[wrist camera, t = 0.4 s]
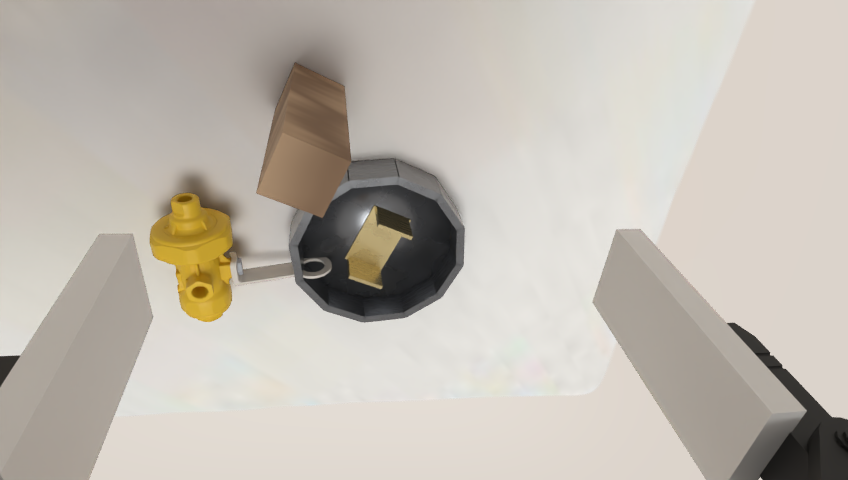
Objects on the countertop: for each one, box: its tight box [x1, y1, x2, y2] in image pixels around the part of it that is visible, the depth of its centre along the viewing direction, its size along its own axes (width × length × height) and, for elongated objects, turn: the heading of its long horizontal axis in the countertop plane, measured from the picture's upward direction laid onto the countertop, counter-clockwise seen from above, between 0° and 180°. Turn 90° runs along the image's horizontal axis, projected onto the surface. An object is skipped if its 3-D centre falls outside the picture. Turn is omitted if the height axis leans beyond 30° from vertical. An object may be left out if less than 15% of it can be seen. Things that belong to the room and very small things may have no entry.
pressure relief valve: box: [150, 193, 332, 322], centre depth 39 cm, size 6×12×10 cm
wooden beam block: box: [256, 63, 351, 218], centre depth 31 cm, size 4×4×12 cm
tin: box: [289, 159, 465, 322], centre depth 42 cm, size 13×13×3 cm
